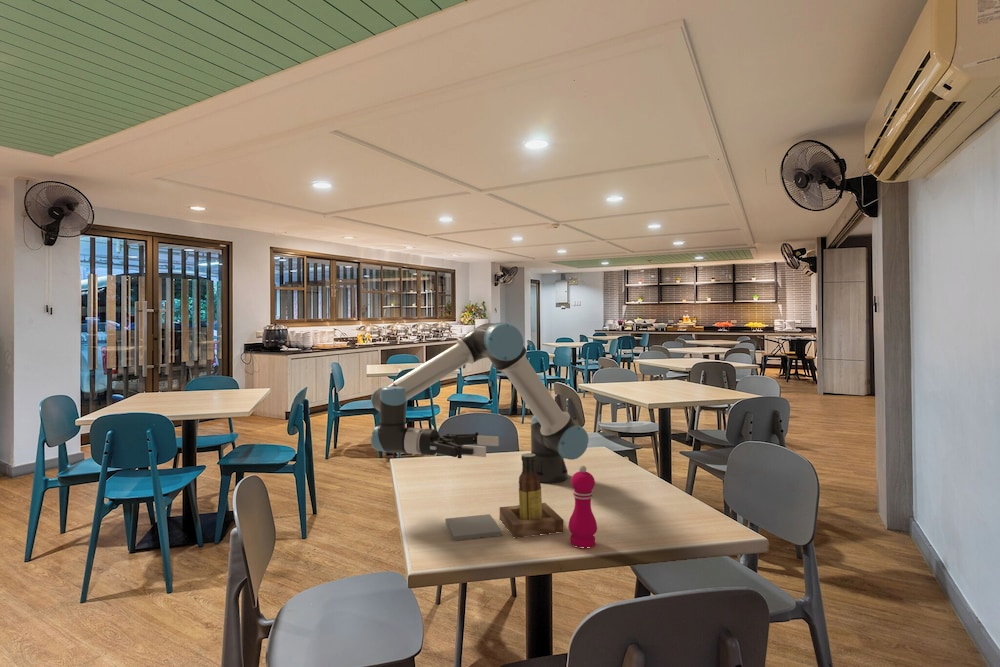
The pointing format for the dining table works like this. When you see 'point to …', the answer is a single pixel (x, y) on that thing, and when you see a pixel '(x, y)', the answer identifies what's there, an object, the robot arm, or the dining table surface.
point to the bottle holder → (531, 522)
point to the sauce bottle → (529, 489)
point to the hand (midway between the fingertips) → (492, 446)
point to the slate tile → (472, 527)
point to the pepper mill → (582, 510)
